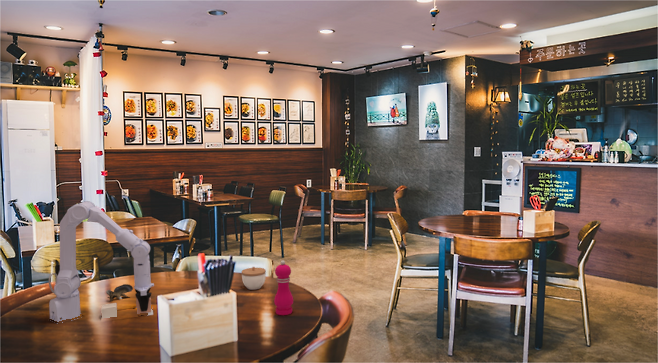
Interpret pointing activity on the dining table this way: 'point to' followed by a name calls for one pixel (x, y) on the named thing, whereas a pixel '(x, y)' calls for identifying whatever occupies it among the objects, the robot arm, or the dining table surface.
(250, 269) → the lidded jar
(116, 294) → the squirrel figurine
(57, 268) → the glass holder
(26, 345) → the dining table surface
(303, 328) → the dining table surface
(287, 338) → the dining table surface
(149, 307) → the pink cube
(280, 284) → the pepper mill
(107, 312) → the cream base brick
